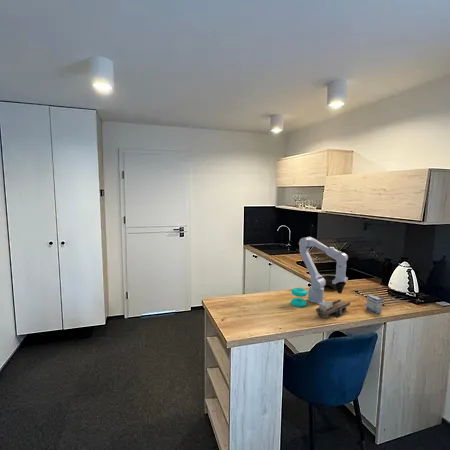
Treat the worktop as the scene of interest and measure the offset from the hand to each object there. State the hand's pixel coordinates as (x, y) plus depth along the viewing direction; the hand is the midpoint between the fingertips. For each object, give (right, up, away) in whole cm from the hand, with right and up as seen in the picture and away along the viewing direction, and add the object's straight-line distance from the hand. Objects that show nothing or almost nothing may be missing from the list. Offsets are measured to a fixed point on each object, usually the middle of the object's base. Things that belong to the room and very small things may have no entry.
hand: (339, 293), depth 194 cm
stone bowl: (+9, -5, +46) cm, 47 cm away
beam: (-7, -9, -9) cm, 14 cm away
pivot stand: (-4, -10, -6) cm, 12 cm away
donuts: (-25, -9, +4) cm, 27 cm away
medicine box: (+21, -11, -3) cm, 23 cm away
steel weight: (-13, -7, -14) cm, 20 cm away
